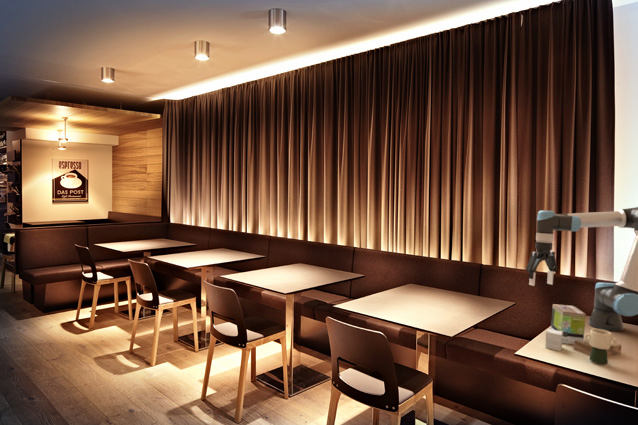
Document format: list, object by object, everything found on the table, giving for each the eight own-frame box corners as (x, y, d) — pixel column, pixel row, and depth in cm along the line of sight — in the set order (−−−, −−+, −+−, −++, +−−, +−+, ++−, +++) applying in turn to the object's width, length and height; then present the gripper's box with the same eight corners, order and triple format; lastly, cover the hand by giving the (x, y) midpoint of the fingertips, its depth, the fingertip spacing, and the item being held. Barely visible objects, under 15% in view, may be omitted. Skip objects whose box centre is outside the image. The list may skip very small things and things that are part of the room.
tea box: (584, 345, 198) (586, 313, 197) (559, 343, 200) (562, 311, 199) (572, 335, 213) (574, 305, 212) (549, 333, 215) (551, 303, 214)
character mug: (613, 363, 178) (616, 331, 178) (615, 369, 172) (618, 336, 171) (582, 357, 184) (584, 326, 183) (583, 362, 177) (585, 330, 177)
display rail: (598, 346, 198) (598, 336, 198) (620, 354, 189) (621, 344, 189) (574, 349, 192) (574, 340, 192) (596, 358, 183) (597, 348, 183)
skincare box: (562, 347, 194) (563, 331, 194) (560, 351, 189) (561, 334, 189) (546, 344, 198) (547, 328, 197) (544, 348, 193) (546, 331, 192)
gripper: (554, 240, 226) (551, 281, 228) (520, 240, 217) (517, 284, 218) (567, 242, 220) (564, 285, 221) (532, 242, 210) (529, 287, 211)
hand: (540, 284), depth 219 cm, fingers open, 12 cm apart
